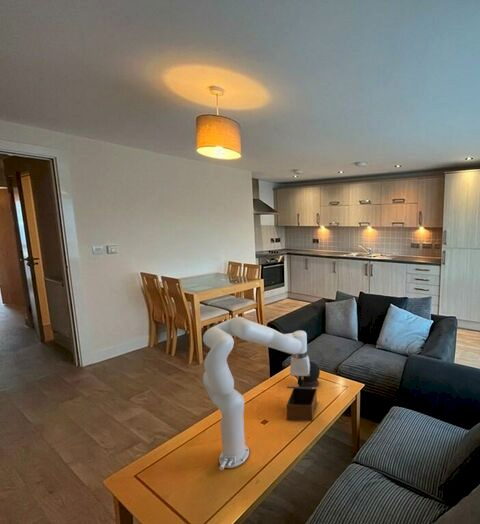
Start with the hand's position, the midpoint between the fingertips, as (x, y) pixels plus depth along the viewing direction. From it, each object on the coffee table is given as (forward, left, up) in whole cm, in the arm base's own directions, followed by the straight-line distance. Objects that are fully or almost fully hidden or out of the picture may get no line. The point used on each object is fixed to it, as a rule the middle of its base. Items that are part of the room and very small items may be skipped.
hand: (300, 385), depth 155 cm
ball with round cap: (+29, +1, -17) cm, 34 cm away
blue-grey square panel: (+3, 0, -4) cm, 5 cm away
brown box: (+3, 0, -17) cm, 18 cm away
